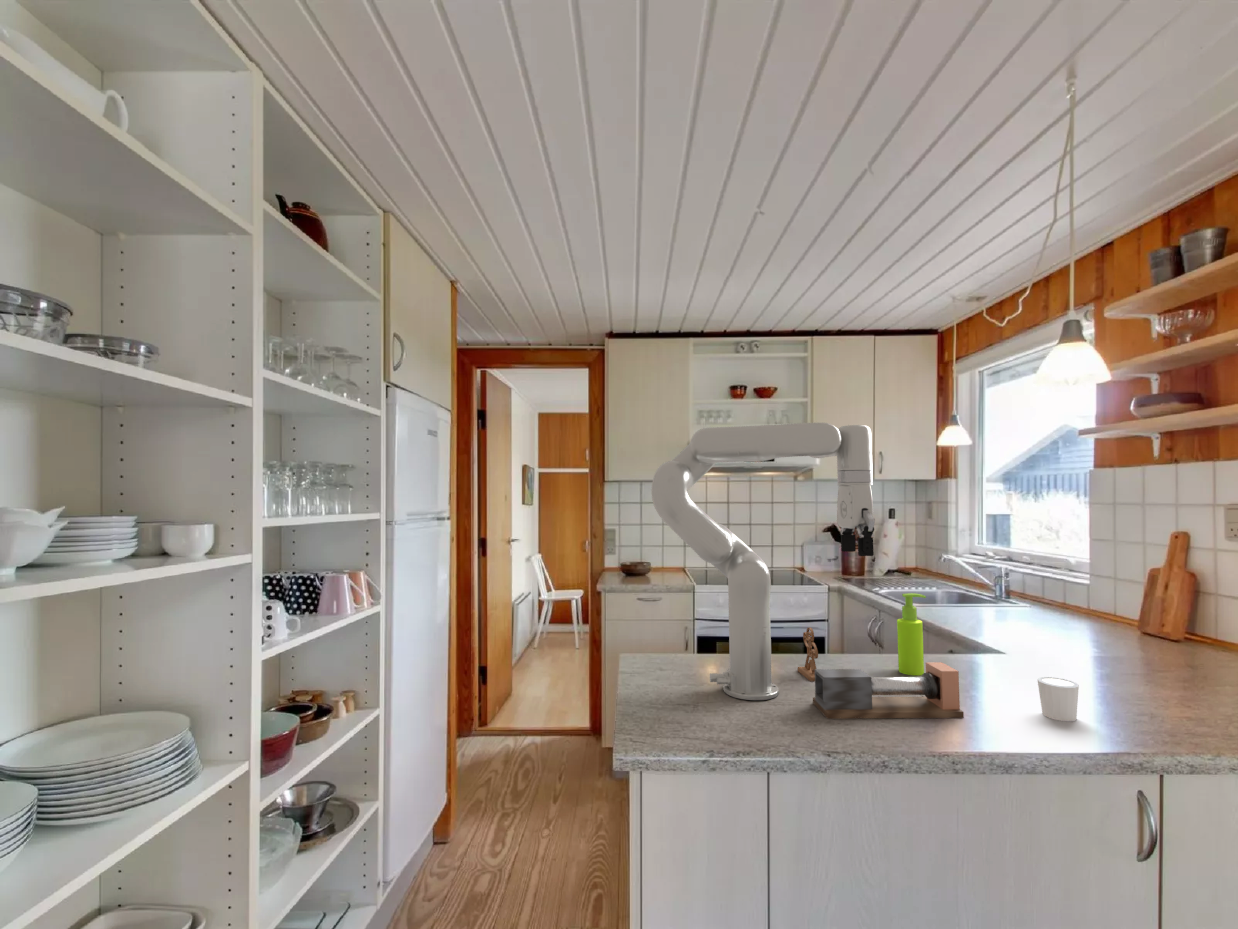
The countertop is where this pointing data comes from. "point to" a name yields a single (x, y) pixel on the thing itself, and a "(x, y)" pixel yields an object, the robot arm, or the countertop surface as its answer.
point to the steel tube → (907, 685)
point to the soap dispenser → (910, 639)
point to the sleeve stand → (868, 699)
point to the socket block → (945, 685)
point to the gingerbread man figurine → (811, 666)
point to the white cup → (1058, 698)
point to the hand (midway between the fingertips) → (856, 553)
